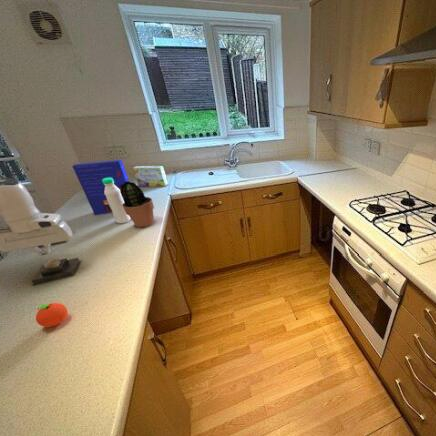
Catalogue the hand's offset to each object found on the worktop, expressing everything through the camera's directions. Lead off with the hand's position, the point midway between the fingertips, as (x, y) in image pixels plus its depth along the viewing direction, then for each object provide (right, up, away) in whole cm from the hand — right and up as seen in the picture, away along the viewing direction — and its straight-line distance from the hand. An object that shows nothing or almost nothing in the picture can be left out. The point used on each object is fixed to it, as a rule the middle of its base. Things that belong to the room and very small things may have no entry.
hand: (46, 254), depth 92 cm
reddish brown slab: (-23, +3, +26) cm, 35 cm away
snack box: (-13, +39, +95) cm, 103 cm away
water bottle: (0, +12, +43) cm, 45 cm away
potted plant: (+14, +11, +40) cm, 44 cm away
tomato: (+20, -19, -17) cm, 33 cm away
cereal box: (-14, +19, +56) cm, 61 cm away
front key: (0, -5, +3) cm, 6 cm away
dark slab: (0, -8, +4) cm, 9 cm away
